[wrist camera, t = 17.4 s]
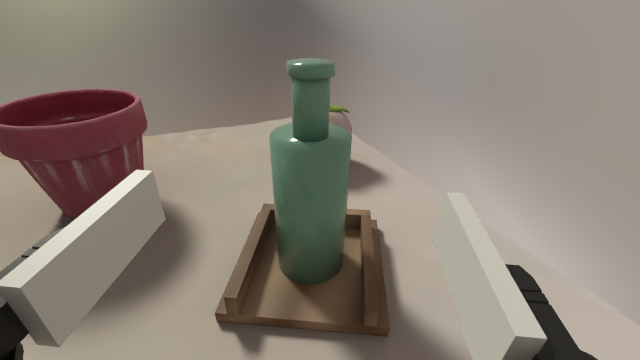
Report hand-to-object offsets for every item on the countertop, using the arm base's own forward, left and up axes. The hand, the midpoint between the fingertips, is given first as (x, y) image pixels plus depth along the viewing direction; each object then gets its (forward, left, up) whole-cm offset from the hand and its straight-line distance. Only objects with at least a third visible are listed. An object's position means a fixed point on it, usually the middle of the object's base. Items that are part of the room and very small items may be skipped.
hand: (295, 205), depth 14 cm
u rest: (-1, +11, -15) cm, 19 cm away
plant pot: (-29, +20, -15) cm, 38 cm away
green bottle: (-1, +11, -14) cm, 18 cm away
